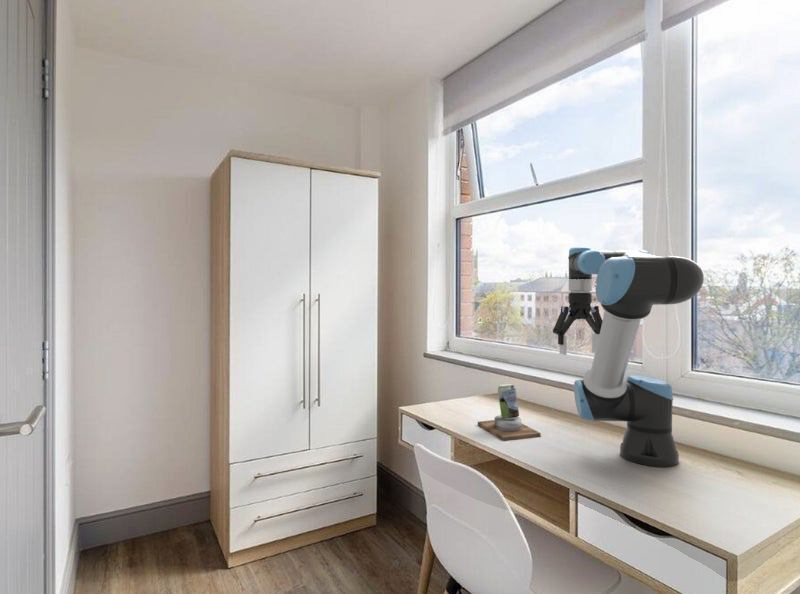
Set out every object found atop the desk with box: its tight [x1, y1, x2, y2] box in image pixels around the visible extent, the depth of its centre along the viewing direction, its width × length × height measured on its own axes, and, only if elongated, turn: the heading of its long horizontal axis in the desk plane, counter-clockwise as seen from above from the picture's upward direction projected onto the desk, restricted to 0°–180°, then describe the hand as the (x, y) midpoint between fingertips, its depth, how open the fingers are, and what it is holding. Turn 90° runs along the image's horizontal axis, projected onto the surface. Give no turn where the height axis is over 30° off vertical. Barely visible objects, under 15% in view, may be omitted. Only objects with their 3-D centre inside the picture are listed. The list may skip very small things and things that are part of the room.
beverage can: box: [497, 383, 520, 420], centre depth 163 cm, size 6×7×12 cm
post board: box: [477, 414, 542, 442], centre depth 163 cm, size 18×14×4 cm
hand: (579, 353), depth 163 cm, fingers open, 13 cm apart
